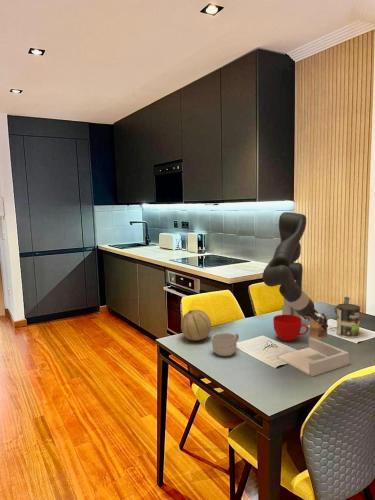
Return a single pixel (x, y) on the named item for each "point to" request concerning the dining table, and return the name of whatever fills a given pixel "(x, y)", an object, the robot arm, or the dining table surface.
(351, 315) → the coffee can
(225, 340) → the teacup
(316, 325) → the wood block
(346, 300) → the mortar and pestle
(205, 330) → the cantaloupe
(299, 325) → the ceramic cup
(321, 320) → the robot arm
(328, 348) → the platform
